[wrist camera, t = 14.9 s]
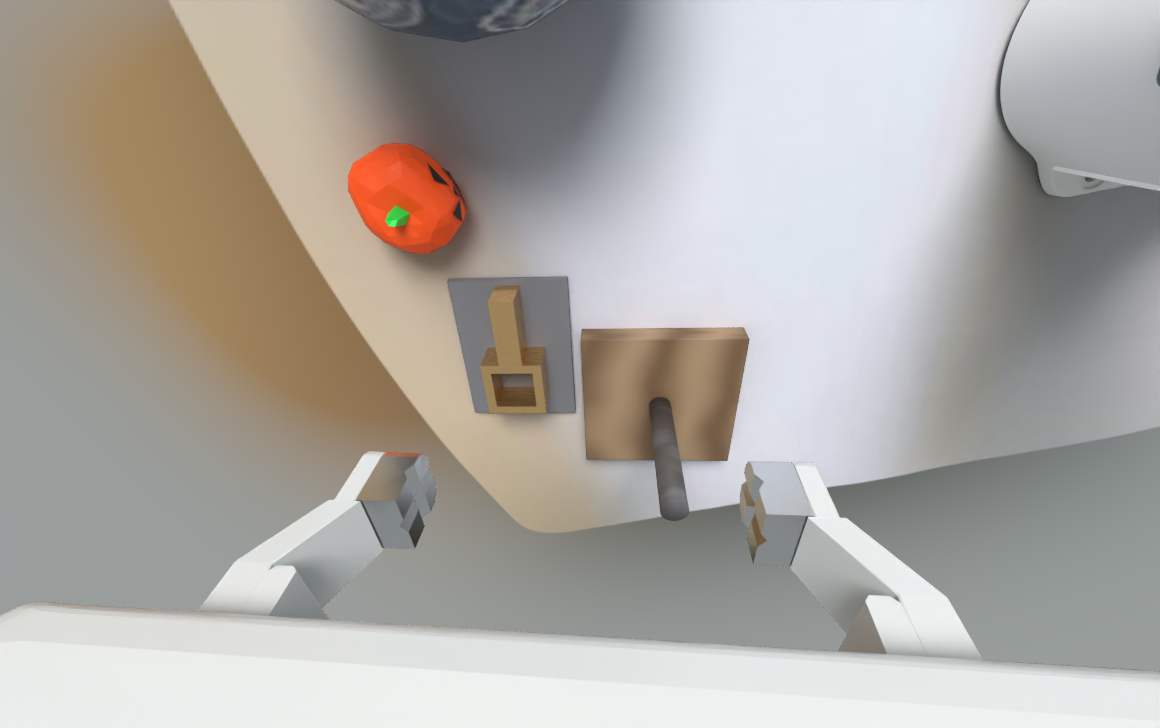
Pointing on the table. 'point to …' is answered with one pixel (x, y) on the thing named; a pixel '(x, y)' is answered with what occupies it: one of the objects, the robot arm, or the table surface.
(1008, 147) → the table surface
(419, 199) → the pumpkin
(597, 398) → the stand
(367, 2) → the decorative ball
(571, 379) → the mat
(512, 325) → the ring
